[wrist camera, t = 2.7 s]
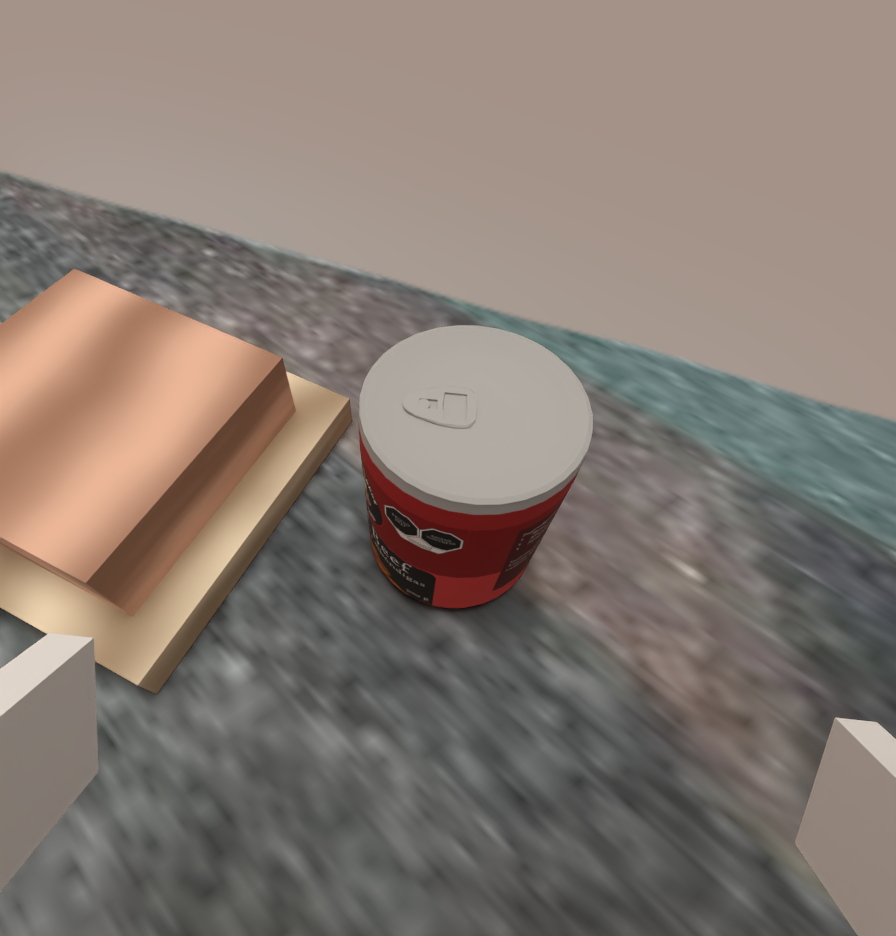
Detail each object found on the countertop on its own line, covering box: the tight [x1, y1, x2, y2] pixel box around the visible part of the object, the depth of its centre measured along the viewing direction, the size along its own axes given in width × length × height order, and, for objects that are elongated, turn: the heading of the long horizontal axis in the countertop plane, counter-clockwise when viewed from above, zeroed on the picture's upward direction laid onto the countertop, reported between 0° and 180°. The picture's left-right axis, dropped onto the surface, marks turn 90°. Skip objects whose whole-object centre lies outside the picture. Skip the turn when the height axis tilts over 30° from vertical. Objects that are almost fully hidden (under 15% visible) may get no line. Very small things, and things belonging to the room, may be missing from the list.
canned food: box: [358, 325, 593, 608], centre depth 23 cm, size 8×8×11 cm
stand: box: [0, 269, 352, 694], centre depth 26 cm, size 16×16×6 cm
